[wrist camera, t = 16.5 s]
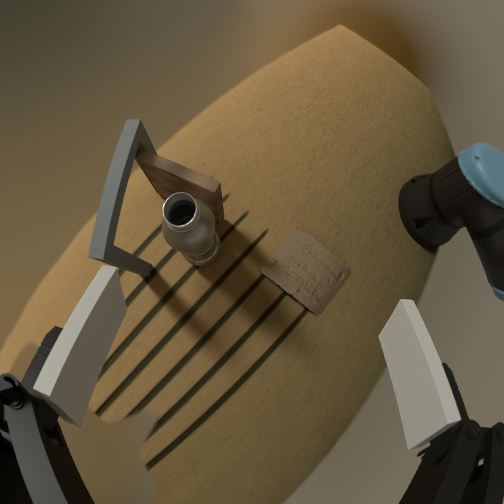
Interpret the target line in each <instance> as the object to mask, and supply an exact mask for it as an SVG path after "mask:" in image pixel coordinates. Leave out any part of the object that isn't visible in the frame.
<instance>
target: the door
mask: <svg viewBox="0 0 504 504" xmlns="http://www.w3.org/2000/svg"><path fill="white" fill-rule="evenodd" d="M135 159H136V161H137V163H138V164H139V166H140V167H141V169H142V170H143V172H144V173H145V175H146V176H147V178H148V180H149V181H150V183H151V184H152V186H153V187H154V189H155V190H156V192H157V193H158V194H160V196H162V197H164V198H166V199H167V198H168V197H169V196H171V195H172V194H175V193H178V192H185V193H188V194H190V195H191V196H192V197H193V198H196V199H198V200H201V201H203V202H204V203H206V204H207V205H208V206H209V207H210V209H211V210H212V212H213V215H214V218H215V222H216V223H218V224H221V222H222V220H223V218H224V210H223V201H222V193H221V184H220V182H219V181H216V180H214V179H212V178H210V177H207V176H205V175H203V174H201V173H198V172H196V171H194V170H191V169H189V168H187V167H184V166H182V165H180V164H177V163H175V162H173V161H170V160H168V159H165V158H163V157H161V156H158V155H156V154H153V153H151V152H148V151H146V150H143V149H142V150H141V151H140V149H137V152H136V155H135Z"/></svg>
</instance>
